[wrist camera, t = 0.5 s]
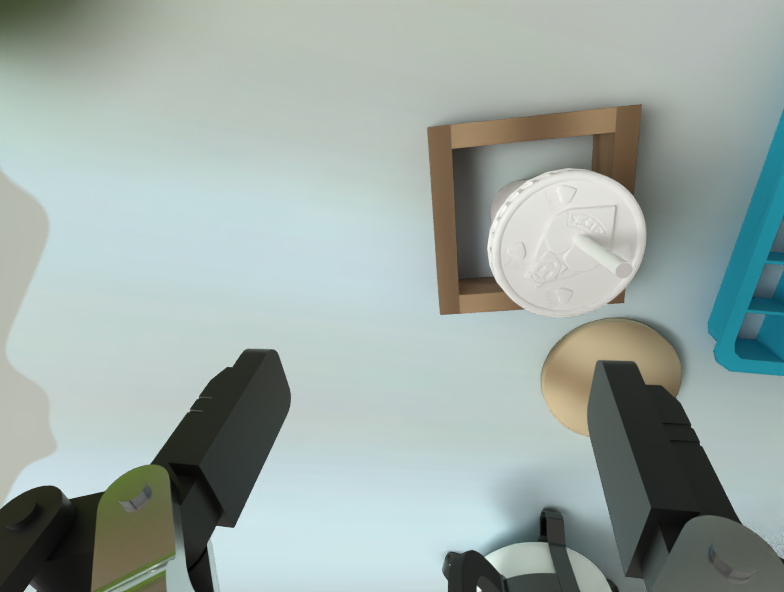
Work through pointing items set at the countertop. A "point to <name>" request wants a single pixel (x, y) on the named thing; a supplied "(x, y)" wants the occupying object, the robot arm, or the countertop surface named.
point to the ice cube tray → (754, 278)
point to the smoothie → (565, 241)
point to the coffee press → (527, 566)
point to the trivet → (603, 342)
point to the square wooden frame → (608, 125)
